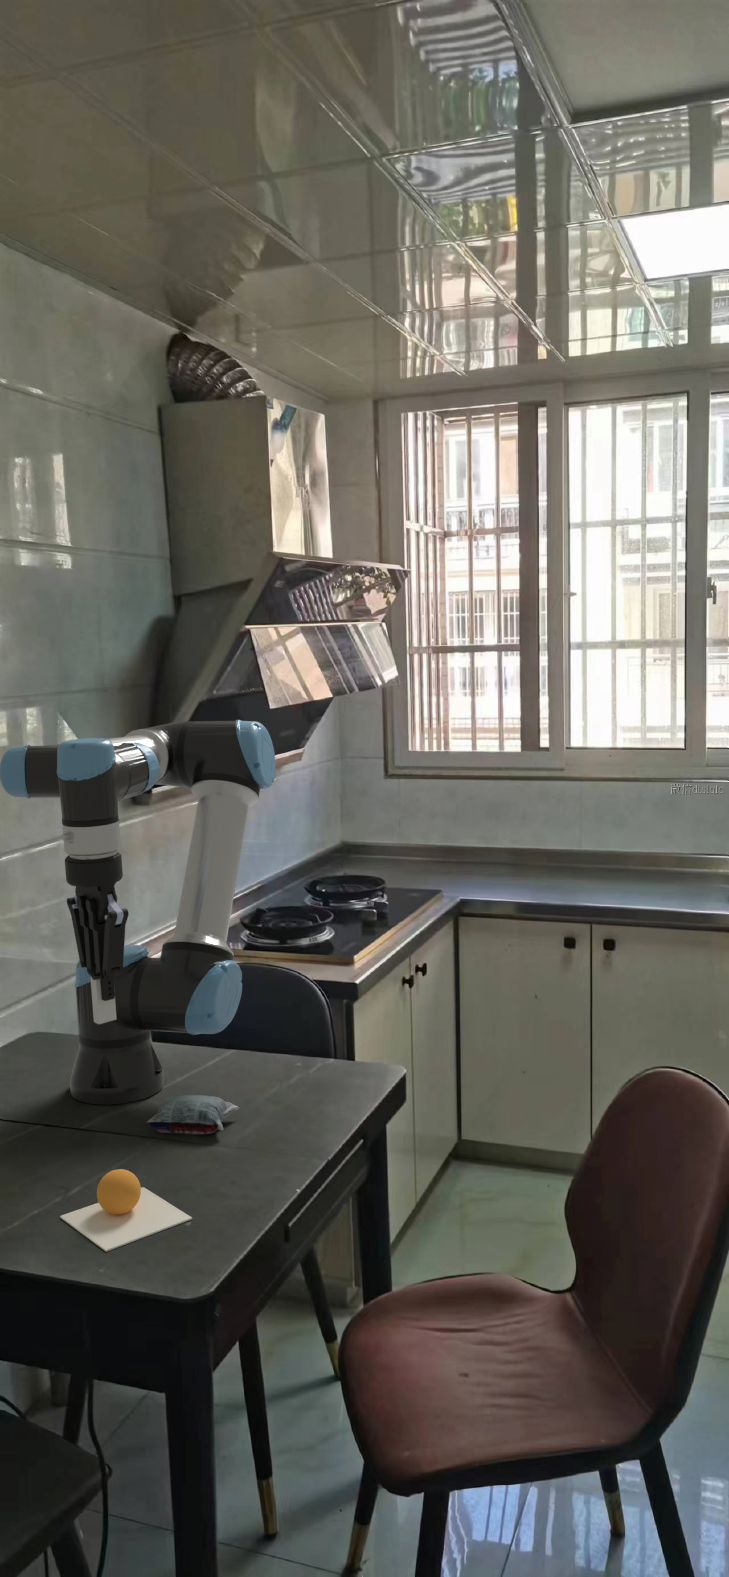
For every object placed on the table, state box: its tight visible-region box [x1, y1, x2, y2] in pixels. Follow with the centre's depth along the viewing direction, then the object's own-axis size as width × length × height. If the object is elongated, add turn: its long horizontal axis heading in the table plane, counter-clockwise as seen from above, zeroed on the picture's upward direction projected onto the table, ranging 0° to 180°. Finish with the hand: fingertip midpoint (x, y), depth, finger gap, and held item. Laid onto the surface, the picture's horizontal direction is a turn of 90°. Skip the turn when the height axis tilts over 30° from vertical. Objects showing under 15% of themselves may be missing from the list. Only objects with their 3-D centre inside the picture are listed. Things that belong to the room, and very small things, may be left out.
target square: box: [59, 1186, 193, 1253], centre depth 149 cm, size 12×12×1 cm
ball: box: [96, 1168, 142, 1215], centre depth 150 cm, size 6×6×6 cm
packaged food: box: [145, 1094, 240, 1135], centre depth 178 cm, size 9×12×5 cm
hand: (105, 1020), depth 163 cm, fingers closed
